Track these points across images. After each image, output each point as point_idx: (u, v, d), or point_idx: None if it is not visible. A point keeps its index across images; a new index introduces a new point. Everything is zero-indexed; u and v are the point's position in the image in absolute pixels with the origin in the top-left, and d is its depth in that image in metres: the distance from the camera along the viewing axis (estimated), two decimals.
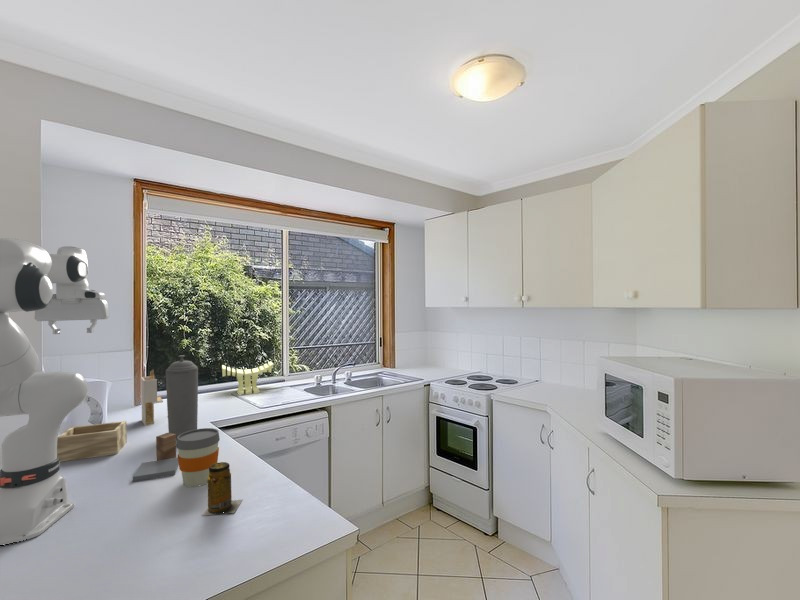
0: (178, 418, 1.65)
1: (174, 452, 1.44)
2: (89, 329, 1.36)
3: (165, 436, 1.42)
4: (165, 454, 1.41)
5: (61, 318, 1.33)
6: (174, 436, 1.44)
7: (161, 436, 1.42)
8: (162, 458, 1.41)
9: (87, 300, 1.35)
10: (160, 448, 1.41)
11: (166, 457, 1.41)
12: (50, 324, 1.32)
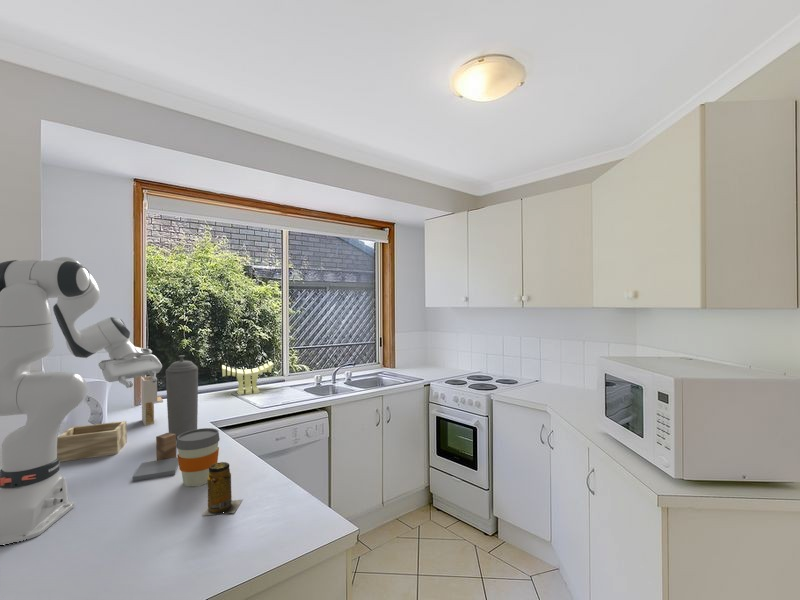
0: (178, 418, 1.65)
1: (174, 452, 1.44)
2: (154, 377, 1.53)
3: (165, 436, 1.42)
4: (165, 454, 1.41)
5: (131, 371, 1.47)
6: (174, 436, 1.44)
7: (161, 436, 1.42)
8: (162, 458, 1.41)
9: (144, 355, 1.55)
10: (160, 448, 1.41)
11: (166, 457, 1.41)
12: (123, 378, 1.43)
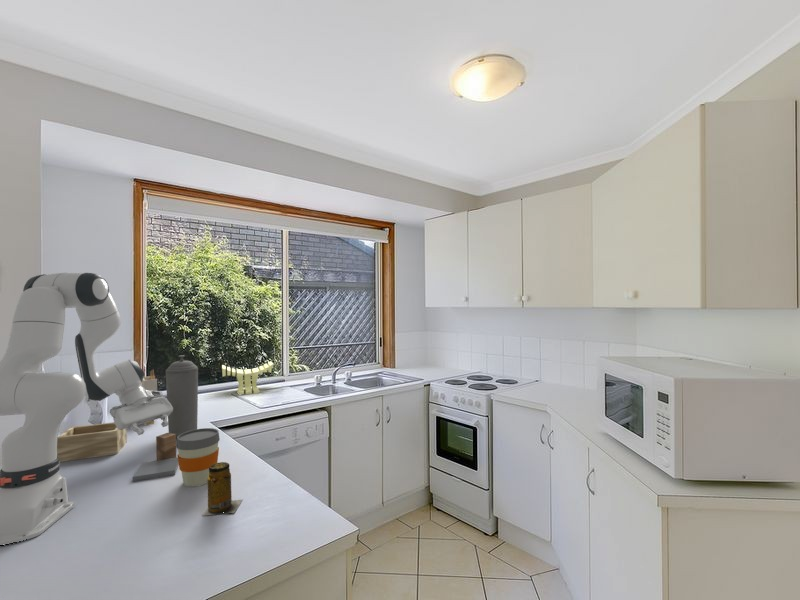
0: (178, 418, 1.65)
1: (174, 452, 1.44)
2: (165, 421, 1.51)
3: (165, 436, 1.42)
4: (165, 454, 1.41)
5: (142, 417, 1.44)
6: (174, 436, 1.44)
7: (161, 436, 1.42)
8: (162, 458, 1.41)
9: (155, 398, 1.53)
10: (160, 448, 1.41)
11: (166, 457, 1.41)
12: (134, 425, 1.41)
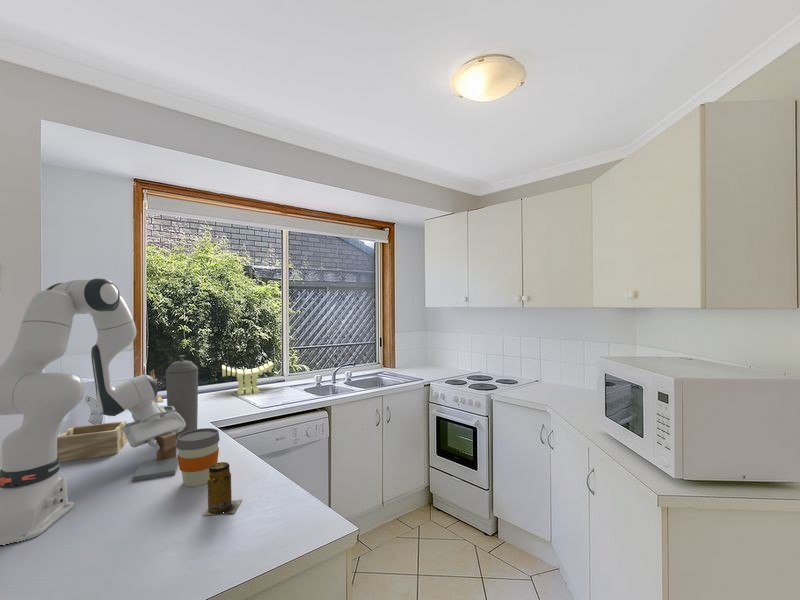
0: None
1: (174, 452, 1.44)
2: None
3: (165, 436, 1.42)
4: (165, 454, 1.41)
5: (155, 434, 1.42)
6: (174, 436, 1.44)
7: (161, 436, 1.42)
8: (162, 458, 1.41)
9: (168, 413, 1.50)
10: None
11: (166, 457, 1.41)
12: (153, 441, 1.40)
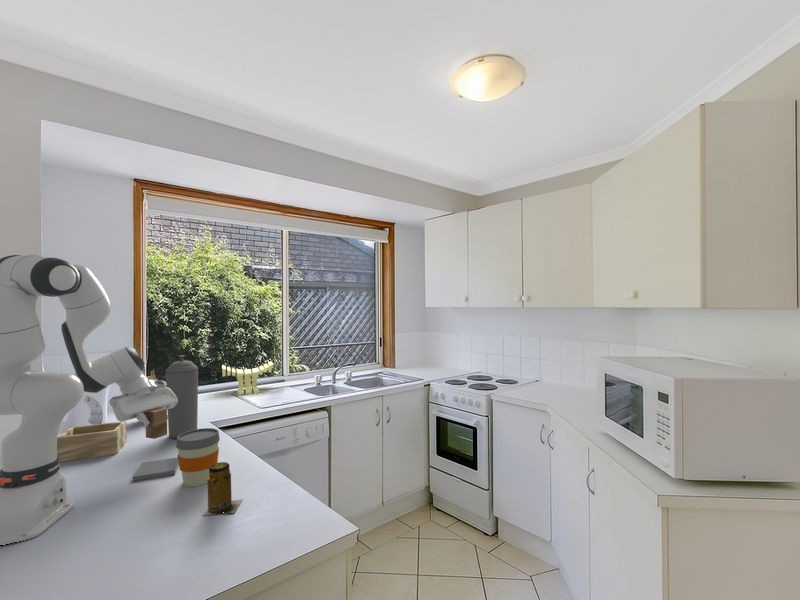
0: (178, 418, 1.65)
1: (164, 429, 1.34)
2: None
3: (155, 410, 1.33)
4: (155, 430, 1.31)
5: (144, 408, 1.32)
6: (165, 411, 1.34)
7: (151, 410, 1.33)
8: (152, 434, 1.31)
9: (159, 388, 1.41)
10: None
11: (156, 433, 1.31)
12: (142, 415, 1.30)
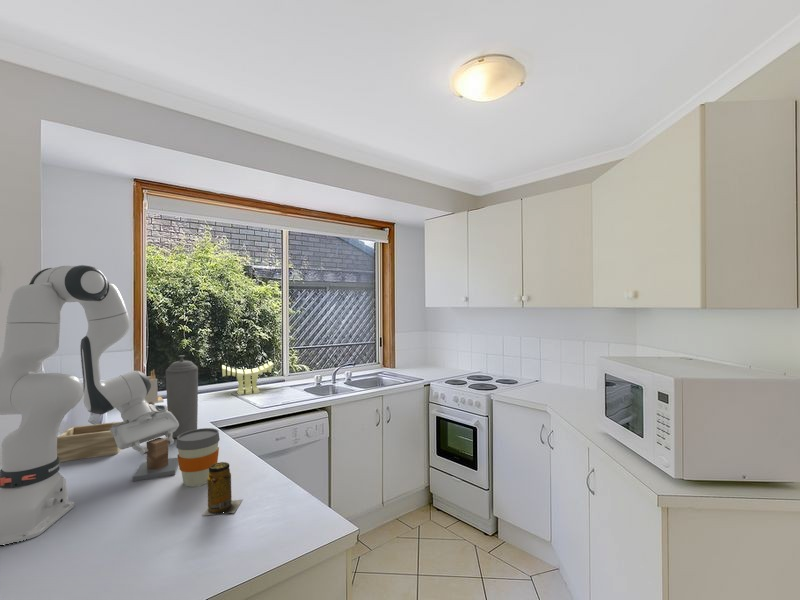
0: (178, 418, 1.65)
1: (165, 459, 1.34)
2: (171, 439, 1.38)
3: (156, 441, 1.32)
4: (156, 461, 1.31)
5: (145, 435, 1.32)
6: (166, 441, 1.34)
7: (152, 441, 1.33)
8: (153, 465, 1.31)
9: (159, 413, 1.41)
10: (151, 454, 1.32)
11: (157, 464, 1.31)
12: (137, 444, 1.29)
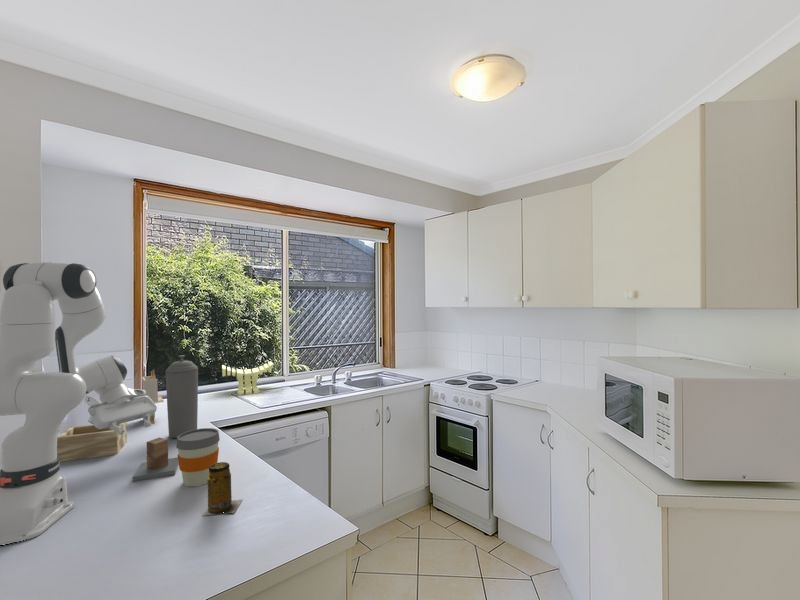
0: (178, 418, 1.65)
1: (165, 459, 1.34)
2: (148, 421, 1.43)
3: (156, 441, 1.32)
4: (156, 461, 1.31)
5: (123, 416, 1.37)
6: (166, 441, 1.34)
7: (152, 441, 1.33)
8: (153, 465, 1.31)
9: (138, 397, 1.46)
10: (151, 454, 1.32)
11: (157, 464, 1.31)
12: (114, 424, 1.34)
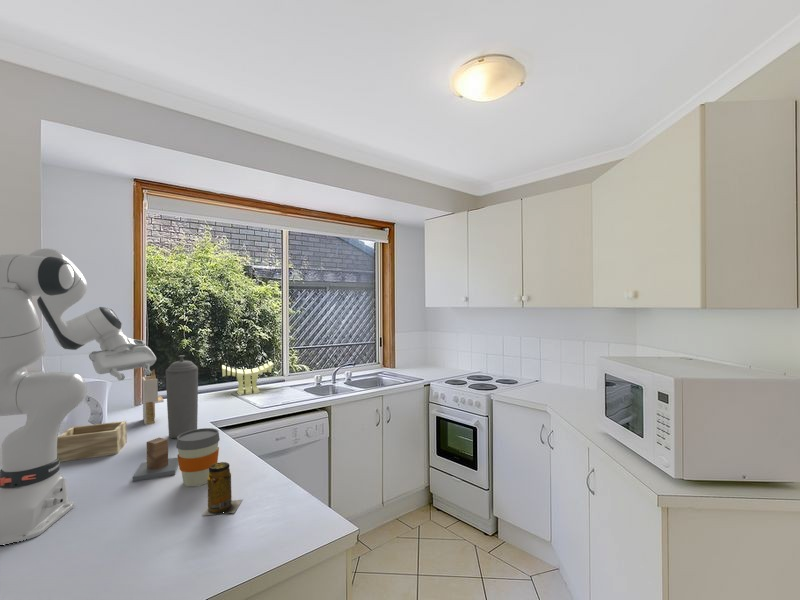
0: (178, 418, 1.65)
1: (165, 459, 1.34)
2: (148, 370, 1.46)
3: (156, 441, 1.32)
4: (156, 461, 1.31)
5: (123, 363, 1.40)
6: (166, 441, 1.34)
7: (152, 441, 1.33)
8: (153, 465, 1.31)
9: (137, 346, 1.48)
10: (151, 454, 1.32)
11: (157, 464, 1.31)
12: (115, 370, 1.36)
